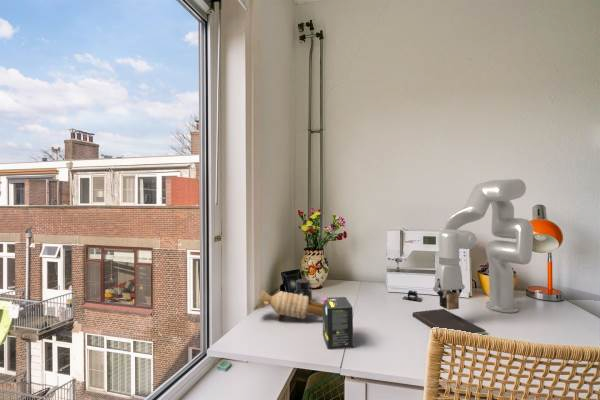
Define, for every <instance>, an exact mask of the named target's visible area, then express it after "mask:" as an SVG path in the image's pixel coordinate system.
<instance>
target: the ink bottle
mask: <svg viewBox="0 0 600 400" xmlns="http://www.w3.org/2000/svg"><path fill="white" fill-rule="evenodd" d="M310 283H311V281H310V280H309V279H306V278H299V279H296V280H295V288H296V289H295V290H294V291H293V294H298V295H303V296H308V297H309V300H310V301H312V302H313V293H312V290H311V289H310V288H311V284H310Z"/></svg>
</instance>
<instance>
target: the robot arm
mask: <svg viewBox="0 0 600 400" xmlns="http://www.w3.org/2000/svg"><path fill="white" fill-rule="evenodd" d="M526 191H527V187H526V183H525V181H523V180H522V179H519V178H511V179H510V178H509V179H494V180H488V181H485V182H481V183H478V184H476V185H475V186H474V187H473V188H472V191H471V193H470V194H469V196H468V199H467V200H466V203H465V205H464V206H463V208H462V209H460V210H458V211H457V212H455V213H454V214H453V215H452V216H450V217H449V218H448V219H447V220H446V221H445V223H444V225H443V227H442V228H441V231H440V232H439V233H438V264H437V265H436V268H435V273H434V276H435V277H434V286H433V288H432V290H433V292H435V293H436V294H437V295H438V297H439V307H441V306H442V308H443V307H444V308H443V309H446V308H447V298H445V297H446V292H447V291H448V290H450V291H452V292H455V293H458V294H459V297H460V296H461V293H462V291H463V290H464V289H465V288H466V287H465V284H464V283H463V275H462V270H461V269H462V268H461V265H460V262H461V259H460V249H461V250H471V249H473V248H475V246H476V245H477V243H478V238H477V235H476V234H475V233H474V232H472V231H468V230H460V228H461V227H462V226H464V225H467V224H470V223H473V222H476V221H479V220H482V219H483V218H484V217H485V215H486V213H487V211H488V209H489V207H490V205H491V208H492V209H491V211H492V212H491V213H492V215H491V228H490V229H491V234H492V235H493V236H494V237H497V238H502V239H512V240H515V241H508V240H497V239H495V240H492V241H489V242H488V243H487V244H486V247H485V253H486V257H487V261H488V289H489V290H488V292H489V293H488V298H489V301H486V302H485V307H486V308H488V309H490V310H492V311H495V312H500V313H506V314H507V313H508V314H513V313H517V312H519V308H518V306H516V305H517V304H521V303H522V300H521V299H520V298H515V294H514V292H515V290H514V289H515V287H514V286H515V284H514V281H515V280H514V270H513V268H512V266H511V265H510V264H515V265H516V264H517V265H528V264H529V263H530V262H531V260H532V257H533V247H534V246H533V244H534V243H533V242H534V226H533V224H532V222H531V221H530V220H529V219H527V218H526V219H525V218H523V217H521V218H520V217H515V207H514V205H513V204H514V203H512V202H511V201H512V200H517V199H519V198H522V197H523V196H524V195H525V194H526ZM442 291H443V293H442Z"/></svg>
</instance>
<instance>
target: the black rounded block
mask: <svg viewBox="0 0 600 400" xmlns="http://www.w3.org/2000/svg"><path fill="white" fill-rule="evenodd" d="M406 294H407V296H405V295H404V296H403V297H402V300H403V301H404V300H405V301H410V302H411V301H412V302H418V303H422V302H423V298H418V296H419V295H418V291H417V290H408V292H407V293H406Z"/></svg>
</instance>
